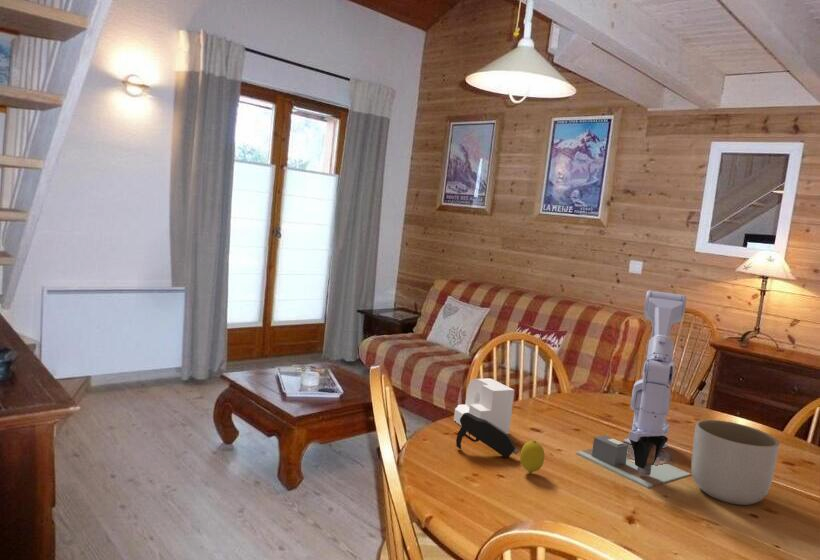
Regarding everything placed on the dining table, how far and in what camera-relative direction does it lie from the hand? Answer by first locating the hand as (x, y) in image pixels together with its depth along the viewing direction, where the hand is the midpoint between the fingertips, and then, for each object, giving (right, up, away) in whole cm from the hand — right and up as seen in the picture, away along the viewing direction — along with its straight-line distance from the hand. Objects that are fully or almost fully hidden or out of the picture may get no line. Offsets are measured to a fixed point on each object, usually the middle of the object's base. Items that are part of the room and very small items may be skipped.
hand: (644, 465), depth 141 cm
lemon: (-28, -1, -3) cm, 28 cm away
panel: (0, -3, +8) cm, 9 cm away
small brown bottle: (0, -2, 0) cm, 2 cm away
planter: (+17, -6, -4) cm, 19 cm away
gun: (-40, -1, +7) cm, 41 cm away
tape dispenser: (-37, +3, +27) cm, 46 cm away
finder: (-6, -1, +8) cm, 10 cm away
